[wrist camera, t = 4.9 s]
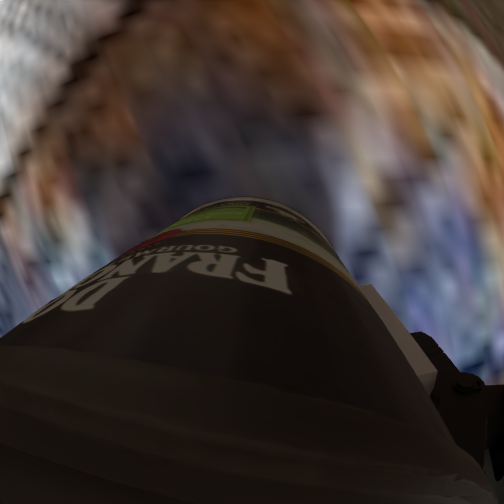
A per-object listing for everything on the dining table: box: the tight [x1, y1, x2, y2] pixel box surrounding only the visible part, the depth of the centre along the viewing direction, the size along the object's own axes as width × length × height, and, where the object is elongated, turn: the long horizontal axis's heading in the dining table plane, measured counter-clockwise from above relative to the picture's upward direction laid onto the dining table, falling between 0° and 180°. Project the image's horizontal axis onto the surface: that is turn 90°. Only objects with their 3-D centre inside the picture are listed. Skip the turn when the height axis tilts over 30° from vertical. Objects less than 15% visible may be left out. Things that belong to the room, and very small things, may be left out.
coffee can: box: [0, 197, 498, 504], centre depth 10 cm, size 10×10×14 cm
